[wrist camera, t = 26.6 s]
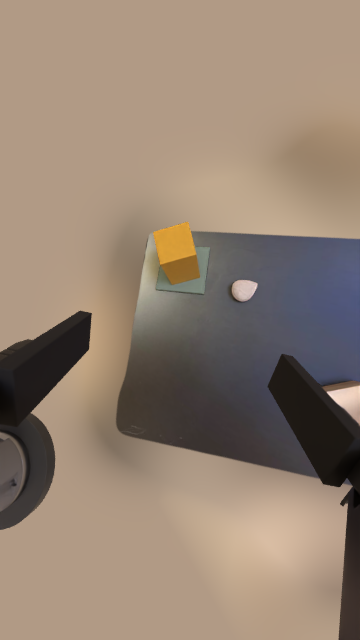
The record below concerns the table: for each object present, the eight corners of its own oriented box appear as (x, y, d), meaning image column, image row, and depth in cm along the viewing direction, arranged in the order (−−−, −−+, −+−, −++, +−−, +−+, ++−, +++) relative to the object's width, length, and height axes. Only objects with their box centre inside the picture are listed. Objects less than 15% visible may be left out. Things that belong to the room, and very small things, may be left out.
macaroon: (227, 287, 42) (228, 282, 40) (251, 276, 42) (253, 271, 39) (237, 306, 41) (238, 302, 39) (261, 295, 41) (264, 291, 38)
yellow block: (200, 277, 42) (196, 254, 33) (172, 285, 43) (159, 264, 33) (193, 251, 44) (188, 221, 34) (166, 259, 44) (152, 231, 35)
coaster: (203, 294, 43) (203, 293, 42) (156, 290, 44) (155, 289, 44) (209, 249, 44) (209, 247, 43) (164, 246, 46) (163, 244, 45)
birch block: (374, 436, 34) (394, 447, 30) (316, 446, 35) (329, 457, 31) (353, 380, 36) (370, 383, 32) (299, 391, 37) (309, 395, 33)
